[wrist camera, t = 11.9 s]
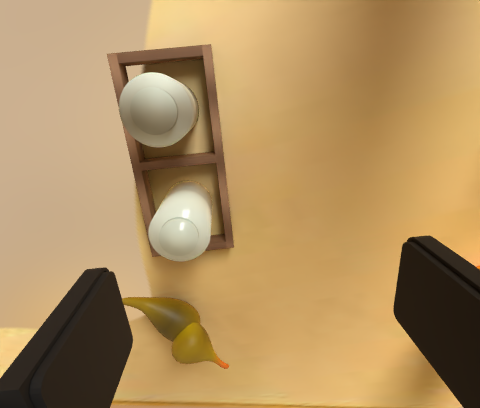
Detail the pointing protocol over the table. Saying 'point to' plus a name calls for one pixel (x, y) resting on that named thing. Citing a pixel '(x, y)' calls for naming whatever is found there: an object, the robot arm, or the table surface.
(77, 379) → the robot arm
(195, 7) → the table surface
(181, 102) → the walnut tray
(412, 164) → the table surface
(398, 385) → the table surface
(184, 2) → the table surface
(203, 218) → the celadon canister
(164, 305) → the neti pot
